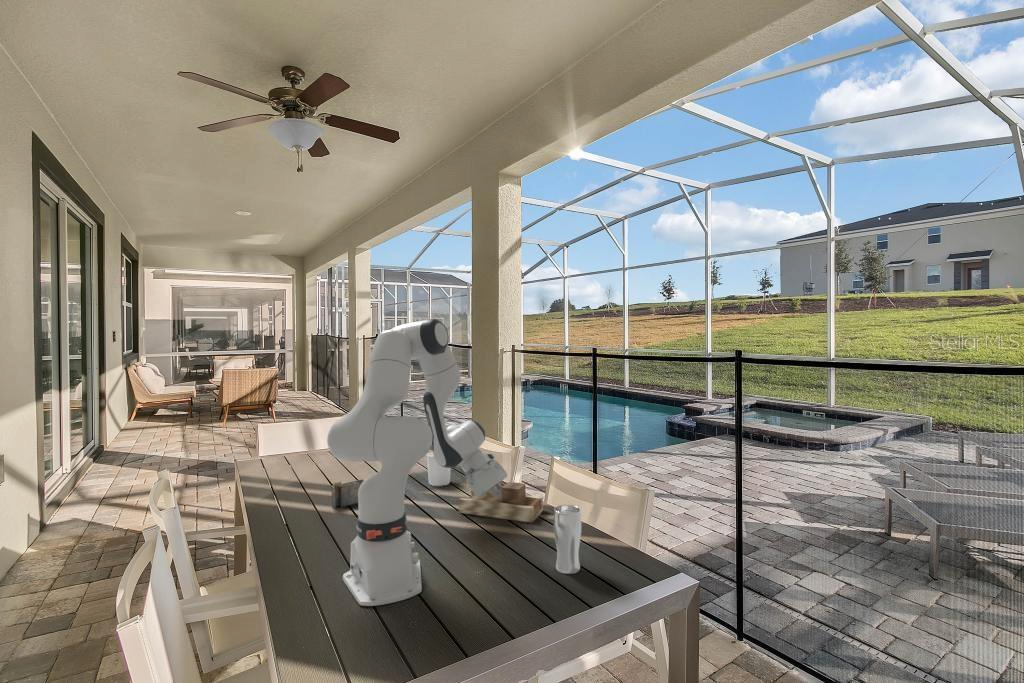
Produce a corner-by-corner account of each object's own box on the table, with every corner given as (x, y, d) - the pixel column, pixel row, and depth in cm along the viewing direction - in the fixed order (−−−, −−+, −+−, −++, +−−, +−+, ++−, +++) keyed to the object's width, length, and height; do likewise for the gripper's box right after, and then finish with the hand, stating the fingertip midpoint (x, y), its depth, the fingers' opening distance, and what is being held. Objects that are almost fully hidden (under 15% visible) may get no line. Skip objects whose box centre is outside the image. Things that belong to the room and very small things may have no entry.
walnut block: (501, 511, 156) (501, 487, 156) (509, 505, 162) (508, 481, 162) (518, 514, 154) (518, 489, 154) (525, 507, 160) (525, 483, 160)
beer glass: (574, 577, 115) (574, 516, 115) (549, 570, 119) (548, 510, 119) (586, 565, 121) (585, 507, 121) (561, 559, 125) (560, 502, 125)
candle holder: (456, 481, 193) (456, 452, 193) (440, 488, 185) (440, 457, 185) (438, 478, 198) (437, 449, 198) (421, 484, 190) (421, 454, 190)
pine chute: (458, 512, 159) (458, 499, 159) (473, 501, 170) (473, 489, 169) (532, 522, 150) (532, 508, 150) (543, 510, 160) (542, 497, 160)
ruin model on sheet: (335, 510, 164) (335, 482, 164) (332, 508, 166) (331, 480, 166) (366, 502, 172) (366, 475, 172) (362, 500, 174) (362, 473, 174)
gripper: (469, 467, 152) (497, 501, 149) (494, 452, 171) (520, 482, 168) (456, 480, 154) (484, 514, 150) (483, 464, 173) (508, 493, 169)
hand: (503, 497), depth 159 cm, fingers closed, pressing on walnut block
